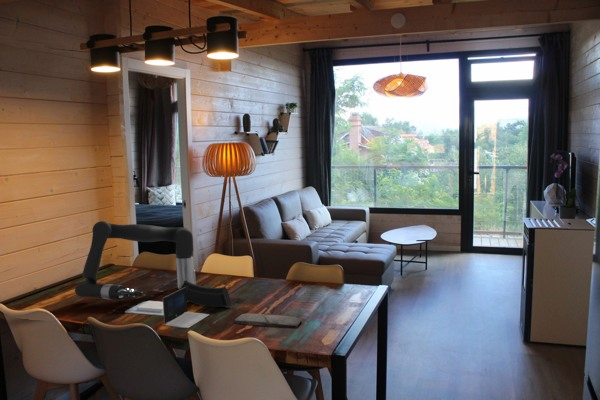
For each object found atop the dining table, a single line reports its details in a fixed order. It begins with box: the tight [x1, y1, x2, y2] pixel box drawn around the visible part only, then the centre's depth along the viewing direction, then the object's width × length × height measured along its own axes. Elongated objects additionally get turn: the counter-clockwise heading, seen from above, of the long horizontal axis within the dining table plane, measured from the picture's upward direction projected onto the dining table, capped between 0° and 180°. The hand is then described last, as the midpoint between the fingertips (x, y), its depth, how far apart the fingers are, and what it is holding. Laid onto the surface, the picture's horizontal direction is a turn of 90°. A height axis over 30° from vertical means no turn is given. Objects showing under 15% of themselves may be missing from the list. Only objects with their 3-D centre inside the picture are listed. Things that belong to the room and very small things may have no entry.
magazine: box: [179, 280, 233, 308], centre depth 262 cm, size 17×3×30 cm
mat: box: [124, 301, 164, 317], centre depth 259 cm, size 21×16×1 cm
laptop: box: [162, 287, 210, 329], centre depth 240 cm, size 18×12×13 cm
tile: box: [137, 300, 163, 312], centre depth 258 cm, size 2×10×14 cm
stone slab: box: [234, 312, 304, 329], centre depth 235 cm, size 10×3×30 cm
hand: (142, 294), depth 259 cm, fingers closed
